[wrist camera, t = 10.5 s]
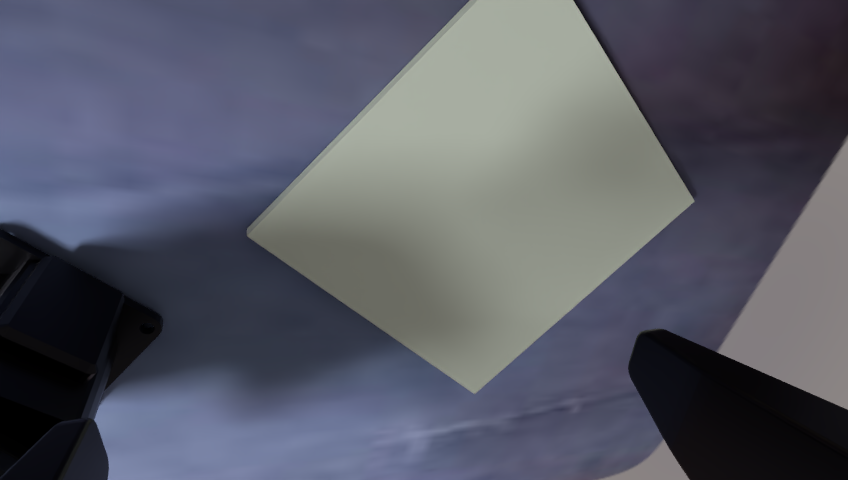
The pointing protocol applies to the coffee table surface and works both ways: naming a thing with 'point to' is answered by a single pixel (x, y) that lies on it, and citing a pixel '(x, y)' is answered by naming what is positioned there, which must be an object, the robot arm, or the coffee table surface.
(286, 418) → the coffee table surface
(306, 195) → the sage mat
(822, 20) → the coffee table surface
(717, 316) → the coffee table surface
